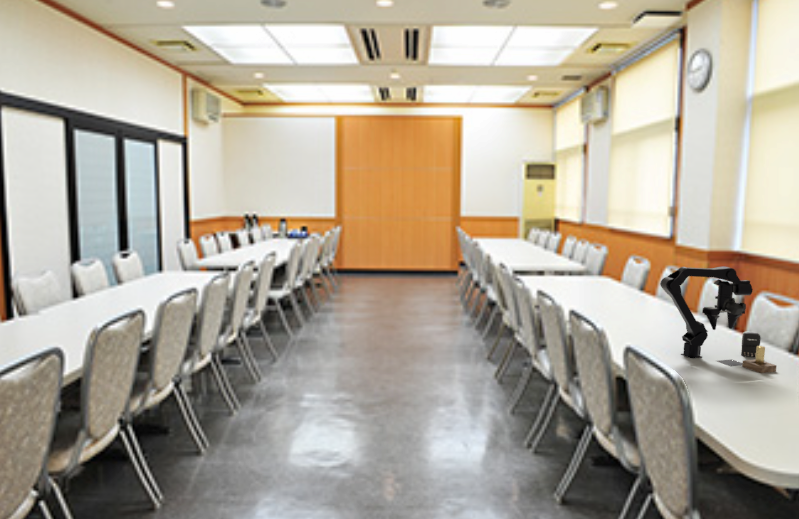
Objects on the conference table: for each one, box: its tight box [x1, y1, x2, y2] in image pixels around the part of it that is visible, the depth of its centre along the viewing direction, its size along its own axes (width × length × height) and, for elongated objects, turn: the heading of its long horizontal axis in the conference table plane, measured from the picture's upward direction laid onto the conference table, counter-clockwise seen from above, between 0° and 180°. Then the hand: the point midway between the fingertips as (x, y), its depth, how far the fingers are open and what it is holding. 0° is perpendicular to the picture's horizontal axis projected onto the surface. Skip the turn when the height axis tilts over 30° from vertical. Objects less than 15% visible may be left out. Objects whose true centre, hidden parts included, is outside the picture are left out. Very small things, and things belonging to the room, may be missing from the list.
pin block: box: [741, 359, 777, 374], centre depth 239 cm, size 8×9×3 cm
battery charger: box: [740, 331, 762, 359], centre depth 257 cm, size 7×4×11 cm, turn 68°
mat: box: [716, 359, 743, 367], centre depth 247 cm, size 9×8×1 cm
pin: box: [754, 345, 766, 365], centre depth 239 cm, size 3×3×10 cm
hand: (722, 329), depth 255 cm, fingers open, 9 cm apart
